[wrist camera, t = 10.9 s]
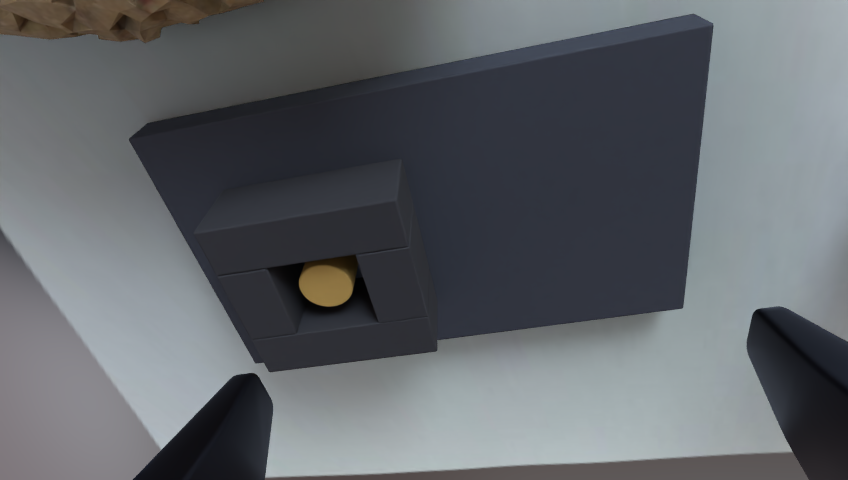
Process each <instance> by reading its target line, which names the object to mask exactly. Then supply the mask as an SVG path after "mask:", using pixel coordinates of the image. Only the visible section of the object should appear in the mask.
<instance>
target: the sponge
mask: <svg viewBox="0 0 848 480" xmlns="http://www.w3.org/2000/svg"><path fill="white" fill-rule="evenodd" d="M260 2H264V0H0V34H4V35H17V36H25V37H33V38H41V39H59V38H68V37H77V36H82V35H86V34H95V35H98V38H99V39H103V40H111V41H120V42H122V41H128V40H135V39H140V40H141V41H142V42H144V43H147V42H149V41H151V40H154V39H156V38H159V37H160V33H161V28H162V27H167V26H171V25H174V24H178V23H185V24H199V20H201V19H203V18H205V17H207V16H211V15H215V14H220V13H224V12H228V11H232V10H235V9H238V8H241V7H244V6H248V5H252V4H256V3H260Z"/></svg>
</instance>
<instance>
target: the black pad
mask: <svg viewBox="0 0 848 480" xmlns="http://www.w3.org/2000/svg"><path fill="white" fill-rule="evenodd" d="M412 202H413V201H412V197H411V193H410V189H409V185H408V181H407V177H406V173H405V169H404V165H403V161H402V159H395V160H389V161H384V162H378V163H372V164H367V165H361V166H355V167H350V168H344V169H338V170H333V171H327V172H321V173H316V174H310V175H304V176H299V177H293V178H287V179H282V180H276V181H270V182H265V183H259V184H253V185H248V186H242V187H236V188H231V189H225V190H223V191H222V192H221V194H220V195H219V197H218V198H217V200H216V201H215V203H214V204H213V205H212V207H211V208H210V210H209V211H208V213H207V214H206V215H205V217H204V218H203V220H202V221H201V223H200V224H199V225H198V227H197V228H196V230H195V231H194V236H195V238H196V239H197V241H198V243H199V245H200V247H201V248H202V250H203V252H204V254H205V256H206V258H207V259H208V261H209V263H210V265H211V267H212V269H213V270H214V272H215V274H216V275H218V276H217V277H218V280H219V282H220V283H221V285H222V287H223V289H224V291H225V293H226V294H227V296H228V298H229V300H230V302H231V303H232V305H233V307H234V309H235V311H236V313H237V314H238V316H239V318H240V320H241V322H242V323H243V325H244V327H245V329H246V331H247V333H248V334H249V336H250V338H251V339H252V342H253V344H254V345H255V347H256V349H257V351H258V353H259V355H260V356H261V358H262V360H263V362H264V364H265V365H266V367H267V369H268V371H269V372H275V371H283V370H291V369H299V368H307V367H315V366H323V365H331V364H339V363H347V362H355V361H363V360H371V359H379V358H387V357H395V356H403V355H411V354H419V353H427V352H435V351H437V297H436V293H435V289H434V285H433V281H432V277H431V273H430V269H429V265H428V260H427V256H426V252H425V248H424V244H423V240H422V236H421V232H420V228H419V224H418V220H417V216H416V212H415V208H414V204H413V203H412ZM349 255H356V258H357V261H358V264H359V267H360V270H361V273H362V276H363V277H362V278H355V282H354V287H353V292H352V295H351V296H350V298H349V299H348V300H347V301H346V302H344V303H343V304H340V305H337V306H331V307H327V306H320V305H317V304H315V303H313V302H311V301H309V300H308V299H307V298H306V297H305V296H304V295H303V294H302V292H301V290H300V287H299V278H300V275H301V272H302V269H303V267H304V262H310V261H317V260H323V259H330V258H336V257H343V256H349Z"/></svg>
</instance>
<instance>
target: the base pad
mask: <svg viewBox="0 0 848 480" xmlns="http://www.w3.org/2000/svg"><path fill="white" fill-rule="evenodd" d="M712 33H713V23H711V22H709V21H707V20H705V19H703V18H701V17H699V16H697V15H695V14H691V15H686V16H681V17H676V18H671V19H666V20H661V21H656V22H651V23H646V24H641V25H636V26H631V27H626V28H621V29H616V30H611V31H606V32H601V33H596V34H591V35H586V36H581V37H576V38H571V39H566V40H561V41H556V42H551V43H546V44H541V45H536V46H531V47H526V48H521V49H516V50H511V51H506V52H501V53H496V54H491V55H486V56H481V57H476V58H471V59H466V60H461V61H456V62H451V63H446V64H441V65H436V66H431V67H426V68H421V69H416V70H411V71H406V72H401V73H396V74H391V75H386V76H381V77H376V78H371V79H367V80H362V81H357V82H352V83H347V84H342V85H337V86H332V87H327V88H322V89H317V90H312V91H307V92H302V93H297V94H292V95H287V96H282V97H277V98H272V99H267V100H262V101H257V102H252V103H247V104H242V105H237V106H232V107H227V108H222V109H217V110H212V111H207V112H202V113H197V114H192V115H187V116H182V117H177V118H172V119H167V120H162V121H157V122H152V123H147V124H146V125H145V126H144V127H143V128H141V129H140V130H139V131H138V132H137V133H135V134H134V135H133V136H132V137H131V138H129V141H130V143H131V144H132V146H133V148H134V150H135V151H136V153H137V155H138V157H139V158H140V160H141V162H142V164H143V166H144V167H145V169H146V171H147V173H148V174H149V176H150V178H151V180H152V181H153V183H154V185H155V187H156V189H157V190H158V192H159V194H160V196H161V197H162V199H163V201H164V203H165V204H166V206H167V208H168V210H169V211H170V213H171V215H172V217H173V219H174V220H175V222H176V224H177V226H178V227H179V229H180V231H181V233H182V234H183V236H184V238H185V240H186V242H187V243H188V245H189V247H190V249H191V250H192V252H193V254H194V256H195V257H196V259H197V261H198V263H199V265H200V266H201V268H202V270H203V272H204V273H205V275H206V277H207V279H208V280H209V282H210V284H211V286H212V287H213V289H214V291H215V293H216V295H217V296H218V298H219V300H220V302H221V303H222V305H223V307H224V309H225V310H226V312H227V314H228V316H229V318H230V319H231V321H232V323H233V325H234V326H235V328H236V330H237V332H238V333H239V335H240V337H241V339H242V341H243V342H244V344H245V346H246V348H247V349H248V351H249V353H250V355H251V356H252V358H253V360H254V362H255V363H263V360H262V358H261V356H260V355H259V353H258V351H257V349H256V347H255V345H254V344H253V342H252V339H251V338H250V336H249V334H248V333H247V331H246V329H245V327H244V325H243V323H242V322H241V320H240V318H239V316H238V314H237V313H236V311H235V309H234V307H233V305H232V303H231V302H230V300H229V298H228V296H227V294H226V293H225V291H224V289H223V287H222V285H221V283H220V282H219V280H218V277H217V276H218V275H216V274H215V272H214V270H213V269H212V267H211V265H210V263H209V261H208V259H207V258H206V256H205V254H204V252H203V250H202V248H201V247H200V245H199V243H198V241H197V239H196V238H195V236H194V231H195V230H196V228H197V227H198V225H199V224H200V223H201V221H202V220H203V218H204V217H205V215H206V214H207V213H208V211H209V210H210V208H211V207H212V205H213V204H214V203H215V201H216V200H217V198H218V197H219V195H220V194H221V192H222V191H223V190H225V189H231V188H236V187H242V186H248V185H253V184H259V183H265V182H270V181H276V180H282V179H287V178H293V177H299V176H304V175H310V174H316V173H321V172H327V171H333V170H338V169H344V168H350V167H355V166H361V165H367V164H372V163H378V162H384V161H389V160H395V159H402V161H403V165H404V169H405V173H406V177H407V181H408V185H409V189H410V193H411V197H412V201H413V202H412V203H413V204H414V208H415V212H416V216H417V220H418V224H419V228H420V232H421V236H422V240H423V244H424V248H425V252H426V256H427V260H428V265H429V269H430V273H431V277H432V281H433V285H434V289H435V293H436V297H437V340H442V339H449V338H457V337H465V336H473V335H481V334H488V333H496V332H504V331H512V330H519V329H527V328H535V327H543V326H550V325H558V324H566V323H574V322H581V321H589V320H597V319H605V318H612V317H620V316H628V315H636V314H643V313H651V312H659V311H667V310H674V309H682V308H683V304H684V295H685V285H686V276H687V267H688V257H689V248H690V239H691V229H692V220H693V211H694V201H695V192H696V183H697V173H698V164H699V155H700V145H701V136H702V127H703V117H704V108H705V99H706V89H707V80H708V71H709V61H710V52H711V43H712ZM362 277H363V276H362V273H361V270H360V267H359V264H358V261H357V258H356V255H349V256H343V257H336V258H330V259H323V260H317V261H310V262H304V267H303V269H302V272H301V275H300V278H299V287H300V290H301V292H302V294H303V295H304V296H305V297H306V298H307V299H308V300H309V301H311V302H313V303H315V304H317V305H320V306H327V307H331V306H337V305H340V304H343V303H344V302H346V301H347V300H348V299H349V298H350V296H351V295H352V292H353V287H354V282H355V278H362Z"/></svg>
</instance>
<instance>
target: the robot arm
mask: <svg viewBox="0 0 848 480" xmlns="http://www.w3.org/2000/svg"><path fill="white" fill-rule="evenodd" d="M747 351H748V355H749V358H750V360H751V362H752V364H753V367H754V369H755V371H756V373H757V376H758V378H759V380H760V383H761V385H762V387H763V389H764V392H765V394H766V396H767V398H768V401H769V403H770V405H771V407H772V410H773V412H774V414H775V416H776V419H777V421H778V423H779V425H780V428H781V430H782V432H783V434H784V436H785V438H786V440H787V442H788V444H789V445H790V447H791V449H792V451H793V453H794V454H795V456H796V458H797V460H798V461H799V463H800V465H801V467H802V468H803V470H804V472H805V473H806V475H807V477H808V479H809V480H848V342H847V341H845V340H843V339H841V338H839V337H838V336H836V335H834V334H832V333H830V332H829V331H827V330H825V329H823V328H821V327H820V326H818V325H816V324H814V323H812V322H810V321H809V320H807V319H805V318H803V317H801V316H800V315H798V314H796V313H794V312H792V311H791V310H789V309H787V308H784V307H780V306H778V307H769V308H761V309H757V310H756V311H755V312H754V313H753V315H752V319H751V324H750V329H749V334H748V338H747ZM272 416H273V403H272V400H271V398H270V396H269V394H268V392H267V391H266V389H265V387H264V385H263V384H262V382H261V380H260V378H259V377H258V376H257V375H256V374H254V373H248V374H240V375H236V376H233V377H232V378H231V379H230V380H229V381H228V382H227V383H226V384H225V385H224V386H223V387H222V388H221V389H220V390H219V391H218V392H217V393H216V394H215V395H214V396H213V397H212V398H211V399H210V400H209V401H208V403H207V404H206V405H205V406H204V407H203V408H202V409H201V410H200V411H199V412H198V413H197V414H196V415H195V416H194V417H193V418H192V419H191V420H190V421H189V422H188V423H187V424H186V425H185V426H184V427H183V428H182V429H181V430H180V431H179V432H178V434H177V435H176V436H175V437H174V438H173V439H172V440H171V441H170V442H169V443H168V444H167V445H166V446H165V447H164V448H163V449H162V450H161V451H160V452H159V453H158V454H157V455H156V456H155V457H154V459H152V460H151V461H150V463H149V464H148V465H147V466H146V467H145V468H144V469H143V470H142V471H141V472H140V473H139V474H138V475H137V476H136V477H135V478H134V479H133V480H265V474H266V465H267V457H268V449H269V441H270V432H271V424H272Z"/></svg>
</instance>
